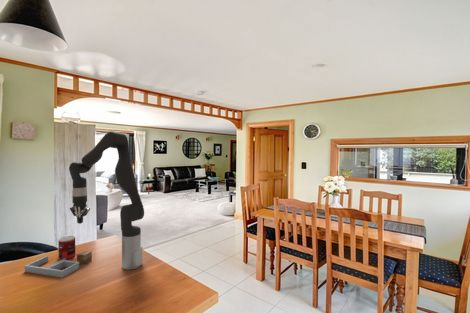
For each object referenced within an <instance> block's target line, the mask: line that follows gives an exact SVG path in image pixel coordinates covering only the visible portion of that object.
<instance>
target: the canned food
mask: <svg viewBox="0 0 470 313" xmlns="http://www.w3.org/2000/svg"><path fill="white" fill-rule="evenodd" d="M57 247H58V259H59V261H60V260H62V259H64V258H66V261H69V260H70V259H73V258H74V257H76V236H74V235H68V236H63V237H60V238H58V246H57Z"/></svg>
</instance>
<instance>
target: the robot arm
mask: <svg viewBox="0 0 470 313" xmlns="http://www.w3.org/2000/svg"><path fill="white" fill-rule="evenodd" d="M110 148H111V149H116V150H117V154H118V160H117V163H116V166H115V169H114V175H115V178H116V182H117V185H118V186H119V187H120V188H121V189H122V190H123V191H124V192H125V193H126V194H127V196H128V198H129V199H130V202H131V204H130V203H129V204H125V205H122V207H121V209H120V214H119V216H120V230H121V267H122V270H127V271H129V270H137V269H138V268H139V267H140V266H142V265H143V246H142V245H141V244H142V243H141V242H142V241H141V238H142V236H141V235H142V234H141V232H142V231H141V227H140V226H137V225H133V224H132V223H133V222H136V221H140V220H142V219H143V218H144V217H145V208H144V205H143V202H142V199H141V197H140V196H141V195H140V193H139V189H138V185H137V181H136V177H135V172H134V169H133V166H132V165H133V164H132V160H131V154H130V148H129V140H128V138H127V136H126V134H125V133H123V132H118V131H112V130H110V131H108V132H107V133H105V134H104V135H103V136H102V138H101V139H100V140H99V141H98V142H97V144H96V145H95V146H94V147H93V148H92V149H91V150H90V151H89V152H87V153H86V154H85V155H84V156H82V158H81V161H74V162H71V163H70V165H69V168H68V169H69V173H70V176H71V180H72V190H71V191H72V192H71V194H72V195H71V198H72V206H71V207H69V210H70V212H71V214H72V216H74V217H76V223H77V224H79V225H80V224H82V223H83V222H84V217H86V216H87V215H88V213H89V212H90V210H91V208H90V207H88V204H87V202H88V188H87V182H88V181H87V178H86V177H84V176H81V174H85V173H89V172H90V170H91V169H92V168H93V166H94V165H95V164H97V163H98V162H100V160H101V159H102V158H103V153H104V151H106V150H108V149H110Z"/></svg>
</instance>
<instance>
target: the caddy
mask: <svg viewBox="0 0 470 313" xmlns="http://www.w3.org/2000/svg"><path fill="white" fill-rule="evenodd" d="M47 262H49V255H45V256H44V257H42V258H39V259H36V260H34V261H32V262H30V263H28V264H25V265H24V272H25V273H31V274H37V275H44V276H50V277H57V278H64V277H66V276H68V275H70V274H71V273H73V272H75V271H76V270H78V269H79V268H80V264H79V262H77V261H72V260H66V258H64V259H62V260H60V259H59V260H58V261H56V262H54V263H52V264H51V265H48V266H45V267H42V266H41V265H44V264H46V263H47ZM64 267H65V269H62V268H64ZM61 269H62V270H61Z"/></svg>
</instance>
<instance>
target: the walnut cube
mask: <svg viewBox="0 0 470 313" xmlns="http://www.w3.org/2000/svg"><path fill="white" fill-rule="evenodd" d="M92 254H93V252H92V251H91V250H82V251H80V252H78V253H77V254H76V262H79V265H80V264H82V265H86V264H88V263H89V262H91V261H92V258H93V256H92Z"/></svg>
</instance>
